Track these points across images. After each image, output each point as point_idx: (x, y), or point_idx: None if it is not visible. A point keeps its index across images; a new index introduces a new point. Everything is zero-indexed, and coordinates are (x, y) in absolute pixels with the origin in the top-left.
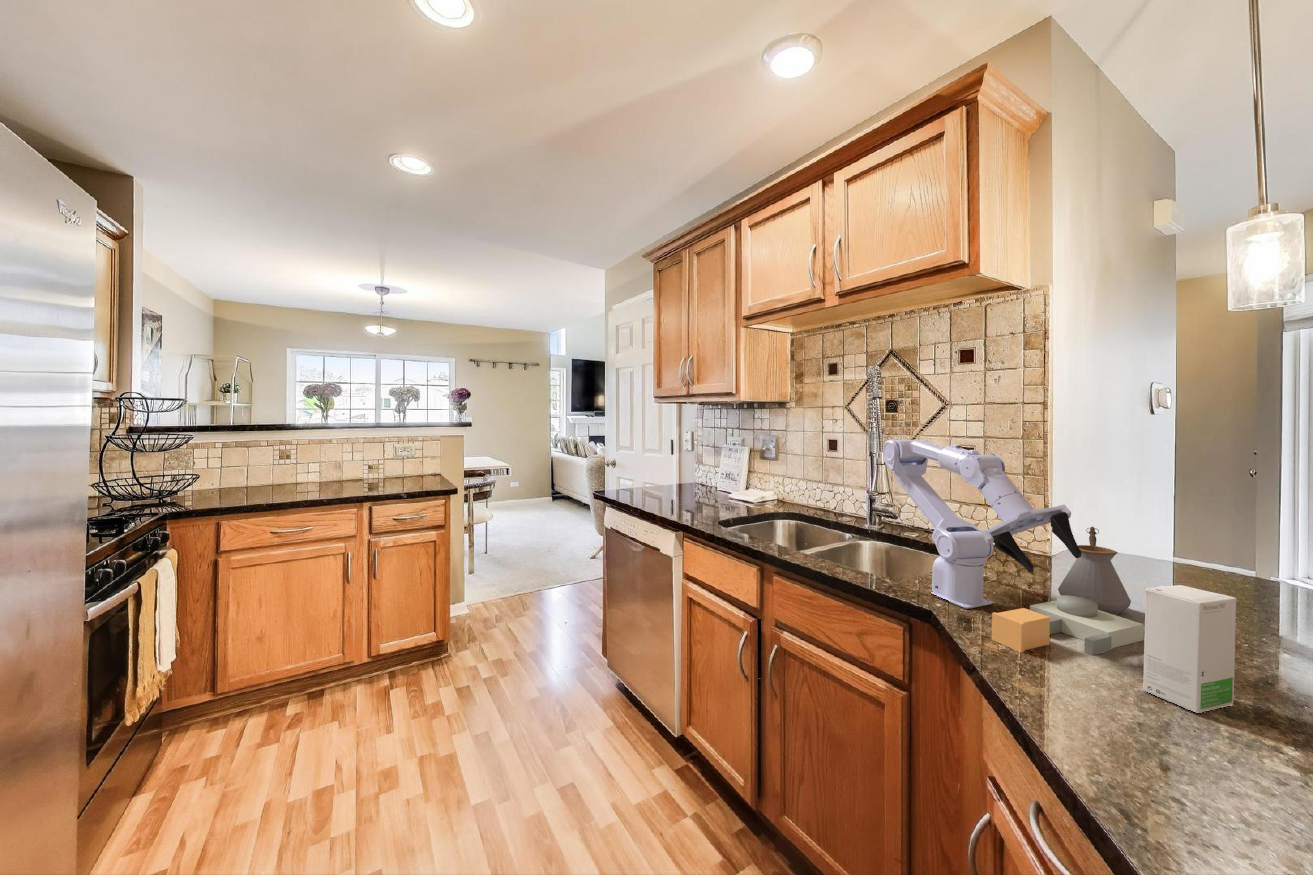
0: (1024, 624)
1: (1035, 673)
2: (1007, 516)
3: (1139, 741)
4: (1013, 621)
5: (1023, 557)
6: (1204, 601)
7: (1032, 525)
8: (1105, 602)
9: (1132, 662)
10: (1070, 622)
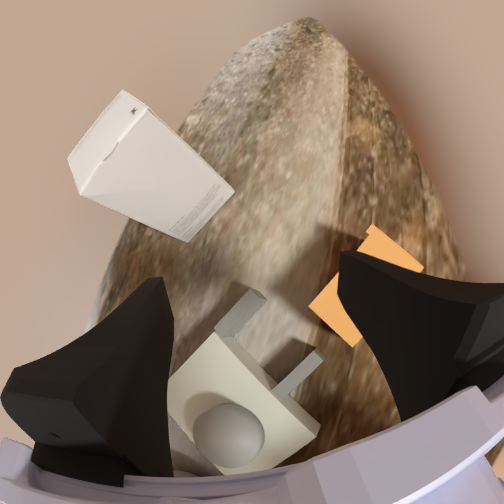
0: (366, 231)
1: (353, 172)
2: (500, 485)
3: (277, 91)
4: (385, 236)
5: (377, 261)
6: (113, 100)
7: (277, 478)
8: (177, 474)
9: (212, 290)
10: (260, 379)
